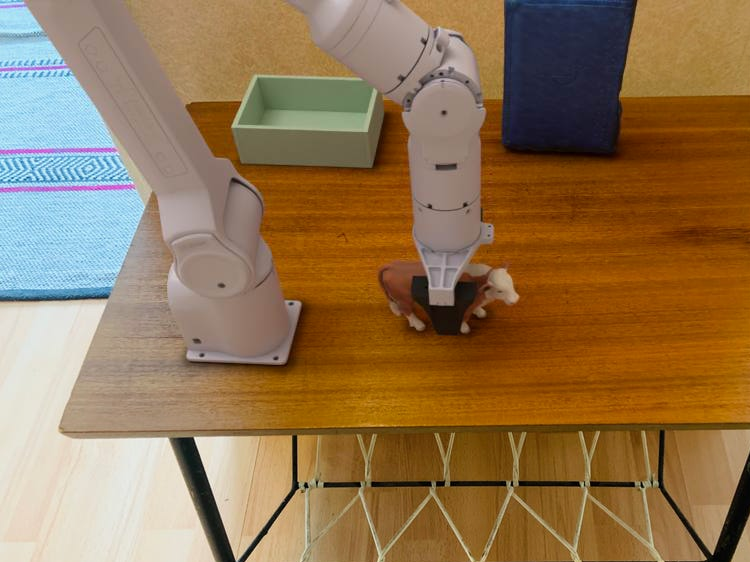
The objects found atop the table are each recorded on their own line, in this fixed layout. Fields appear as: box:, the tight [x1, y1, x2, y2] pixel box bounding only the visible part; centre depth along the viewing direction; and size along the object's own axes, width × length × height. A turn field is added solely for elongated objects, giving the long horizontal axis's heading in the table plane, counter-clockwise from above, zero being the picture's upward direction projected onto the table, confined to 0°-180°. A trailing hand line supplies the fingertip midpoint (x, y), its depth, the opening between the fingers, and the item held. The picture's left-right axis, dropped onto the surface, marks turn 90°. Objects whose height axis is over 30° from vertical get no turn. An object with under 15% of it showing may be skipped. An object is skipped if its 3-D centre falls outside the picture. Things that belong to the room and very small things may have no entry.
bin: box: [230, 74, 385, 169], centre depth 94 cm, size 16×11×5 cm
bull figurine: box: [377, 260, 520, 334], centre depth 73 cm, size 4×13×8 cm, turn 78°
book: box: [500, 0, 639, 154], centre depth 87 cm, size 14×5×20 cm, turn 86°
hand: (450, 302), depth 74 cm, fingers open, 7 cm apart
